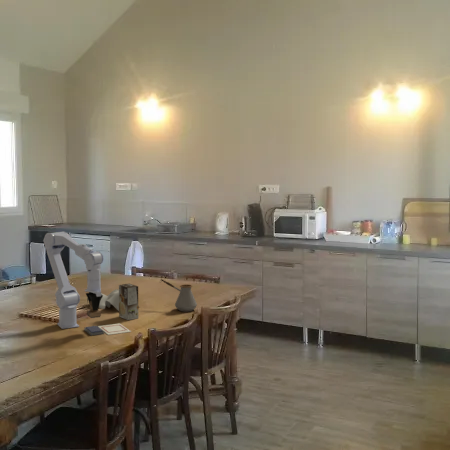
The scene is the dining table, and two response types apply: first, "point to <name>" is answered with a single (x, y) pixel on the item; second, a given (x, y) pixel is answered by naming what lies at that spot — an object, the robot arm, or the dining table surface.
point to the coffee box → (128, 301)
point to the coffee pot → (184, 298)
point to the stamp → (93, 312)
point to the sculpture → (109, 300)
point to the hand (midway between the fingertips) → (94, 309)
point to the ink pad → (94, 330)
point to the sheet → (114, 329)
